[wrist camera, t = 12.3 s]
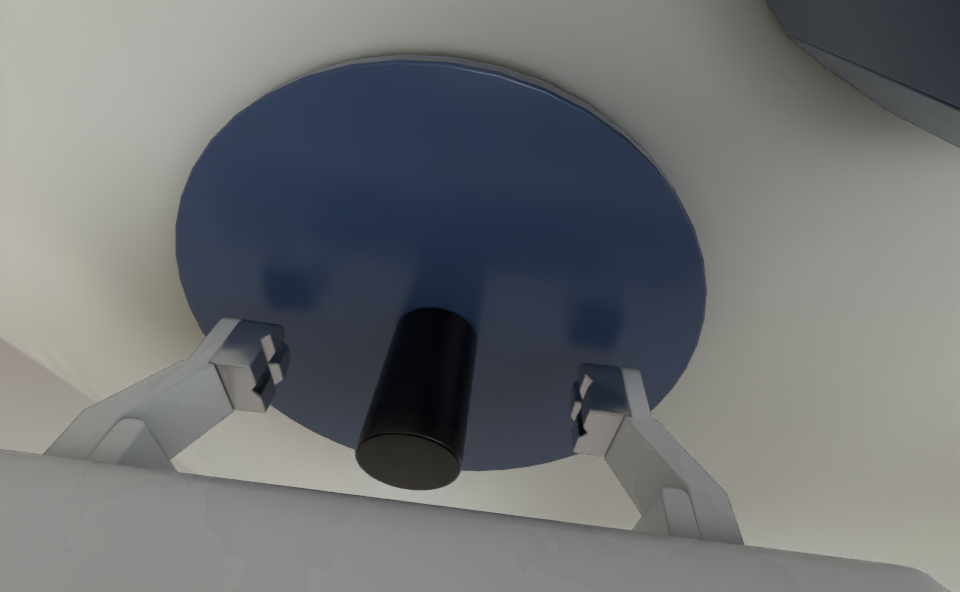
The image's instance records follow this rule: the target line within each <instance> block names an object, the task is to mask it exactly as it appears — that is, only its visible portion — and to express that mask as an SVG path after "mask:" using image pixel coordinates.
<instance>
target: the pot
mask: <svg viewBox="0 0 960 592" xmlns="http://www.w3.org/2000/svg"><path fill="white" fill-rule="evenodd" d="M767 1H768V3H769V5H770V7H771V8H772V9H773V11H774V12H775V14H776V15H777V16H778V18H779V19H780V20H781V22H782V24H783V26H784V29H785V32H786V33H787V34H788V35H789V38H791V39H792V40H793V41H795V42H796V43H797V44H799V45H800V46H801V47H803V48H804V49H805V50H806V51H807V52H808V53H809V54H811V55H812V56H813V57H814V58H815V59H816V60H817V61H818V62H819V63H820V64H821V65H823V66H824V67H825V68H826V69H828V70H830V71H831V72H833V73H834V74H836V75H838V76H839V77H841V78H843V79H844V80H846V81H848V82H849V83H851V84H852V85H853V86H855V87H856V88H857V89H859V90H860V91H861V92H862V93H864V94H865V95H866V96H868V97H869V98H870V99H872V100H873V101H874V102H876V103H877V104H878V105H880V106H881V107H882V108H884V109H886V110H888V111H890V112H891V113H893V114H895V115H897V116H899V117H901V118H903V119H905V120H907V121H909V122H911V123H912V124H914V125H916V126H918V127H920V128H922V129H924V130H926V131H928V132H930V133H932V134H933V135H935V136H937V137H939V138H941V139H943V140H945V141H947V142H949V143H951V144H953V145H954V146H956V147H958V148H960V0H767Z"/></svg>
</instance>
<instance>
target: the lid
mask: <svg viewBox="0 0 960 592" xmlns="http://www.w3.org/2000/svg"><path fill="white" fill-rule="evenodd" d="M176 258H177V264H178V270H179V275H180V281H181V284H182V287H183V290H184V293H185V296H186V298H187V301H188V304H189V307H190V309H191V311H192V313H193V315H194V317H195V319H196V321H197V323H198V325H199V327H200V329H201V330H202V332H203V333H204V335H205V336H206V337H207V335H208V334H209V333H210V331H211V330H212V329H213V328H214V326H215V325H216V324H217V323H218V321H219V320H220V319H222V318H224V317H230V318H237V319H246V320H252V321H259V322H266V323H272V324H279V325H282V326H283V328H284V331H285V334H286V335H285V337H284V339H283V340H282V341H283V342H285V343H286V344H287V345H288V346H289V350H290V364H289V368H288V371H287V373H286V375H285V377H284V379H283V380H282V381H280V382H279V383H277V384H275V385H274V387H275V390H276V394H275V396H274V398H273V399H272V401H271V403H270V405H271V406H273V407H274V408H276V409H277V410H279V411H280V412H282V413H283V414H285V415H286V416H288V417H289V418H290V419H292V420H294V421H295V422H297V423H299V424H301V425H303V426H304V427H306V428H308V429H310V430H311V431H313V432H315V433H317V434H319V435H322V436H324V437H326V438H328V439H330V440H332V441H334V442H336V443H339V444H342V445H344V446H347V447H349V448H352V449H355V456H356V460H357V462H358V464H359V466H360V467H361V468H362V469H363V470H364V471H365V472H366V473H367V474H368V475H370V476H371V477H373V478H375V479H376V480H378V481H380V482H383V483H385V484H388V485H391V486H394V487H398V488H403V489H409V490H432V489H437V488H441V487H444V486H447V485H449V484H450V483H452V482H453V481H455V480H456V479H457V477H458V476H459V474H460V472H461V471H489V470H506V469H514V468H522V467H529V466H534V465H539V464H544V463H548V462H552V461H556V460H559V459H563V458H566V457H570V456H573V455H576V454H578V453H576V452H573V443H572V432H571V430H572V427H573V424H574V422H575V421H574V420H573V419H572V418H571V416H570V395H571V390H572V386H573V383H574V382H575V381H577V380H578V373H577V371H578V369H579V366H580V364H581V363H582V362H583V363H592V364H600V365H609V366H617V367H625V368H634V369H638V370H639V371H640V373H641V377H642V381H643V385H644V389H645V393H646V397H647V401H648V405H649V409H650V411H651V410H653V409H654V408H655V407H656V406H657V405H658V404H659V403H660V402H661V401H662V400H663V398H664V397H665V396H666V395H667V394H668V393H669V392H670V391H671V390H672V388H673V387H674V386H675V384H676V383H677V381H678V380H679V378H680V377H681V375H682V374H683V372H684V371H685V369H686V368H687V366H688V363H689V361H690V359H691V357H692V355H693V353H694V351H695V348H696V346H697V343H698V340H699V336H700V332H701V329H702V325H703V322H704V316H705V304H706V293H707V288H706V278H705V268H704V260H703V256H702V253H701V249H700V246H699V242H698V239H697V236H696V232H695V229H694V227H693V225H692V223H691V221H690V219H689V217H688V215H687V213H686V211H685V209H684V207H683V205H682V203H681V201H680V199H679V197H678V195H677V193H676V191H675V189H674V188H673V186H672V185H671V184H670V182H669V181H668V180H667V178H666V177H665V175H664V174H663V173H662V171H661V170H660V169H659V167H658V166H657V165H656V163H655V162H654V160H653V159H652V158H651V157H650V156H649V155H648V154H647V153H646V152H645V151H644V150H643V149H642V148H641V147H640V146H639V145H638V144H637V143H636V142H635V141H634V140H633V139H632V138H631V137H630V136H629V135H628V134H627V133H626V132H625V131H624V130H623V129H622V128H620V127H619V126H618V125H616V124H615V123H614V122H612V121H611V120H609V119H608V118H607V117H605V116H604V115H602V114H601V113H600V112H598V111H597V110H596V109H594V108H593V107H591V106H590V105H589V104H587V103H586V102H584V101H582V100H580V99H578V98H576V97H574V96H572V95H570V94H568V93H566V92H564V91H562V90H561V89H559V88H557V87H555V86H553V85H551V84H549V83H547V82H545V81H542V80H539V79H537V78H534V77H531V76H528V75H525V74H522V73H519V72H516V71H514V70H511V69H508V68H505V67H502V66H499V65H494V64H489V63H483V62H478V61H473V60H468V59H463V58H458V57H453V56H435V55H414V54H399V55H389V56H379V57H369V58H359V59H354V60H350V61H347V62H343V63H339V64H335V65H331V66H328V67H324V68H320V69H316V70H313V71H311V72H309V73H307V74H304V75H302V76H300V77H298V78H296V79H293V80H291V81H289V82H287V83H284V84H282V85H280V86H278V87H276V88H275V89H273V90H271V91H270V92H268V93H267V94H265V95H264V96H263V97H261V98H260V99H258V100H257V101H255V102H254V103H252V104H251V105H249V106H248V107H246V108H245V109H244V110H242V111H241V112H239V113H238V114H236V115H235V116H234V117H233V118H232V119H231V120H230V121H229V122H228V123H227V124H226V125H225V126H224V127H223V128H222V129H221V130H220V131H219V132H218V133H217V134H216V135H215V136H214V137H213V138H212V139H211V140H210V142H209V143H208V145H207V147H206V148H205V150H204V151H203V153H202V154H201V156H200V157H199V159H198V160H197V162H196V163H195V165H194V166H193V168H192V170H191V173H190V175H189V178H188V180H187V183H186V185H185V188H184V190H183V193H182V195H181V200H180V205H179V210H178V216H177V221H176Z"/></svg>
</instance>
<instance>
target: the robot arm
mask: <svg viewBox="0 0 960 592" xmlns="http://www.w3.org/2000/svg"><path fill="white" fill-rule="evenodd" d="M285 335H286V334H285V331H284V328H283V326H282V325H279V324H272V323H266V322H259V321H252V320H246V319H237V318H230V317H224V318H222V319H220V320H219V321H218V323H217V324H216V325H215V326H214V328H213V329H212V330H211V331H210V333H209V334H208V335H207V337H206V338H205V339H204V340H203V342H202V343H201V344H200V345H199V347H198V348H197V349H196V350H195V352H194V353H193V354H192V355H191V357H190V358H189V359H188V361H187V360H181V361H179V362H177V363H175V364H173V365H171V366H169V367H167V368H165V369H163V370H161V371H159V372H157V373H155V374H153V375H151V376H150V377H148V378H146V379H144V380H142V381H140V382H138V383H136V384H134V385H132V386H130V387H128V388H126V389H124V390H122V391H120V392H118V393H116V394H114V395H112V396H110V397H108V398H106V399H104V400H103V401H101V402H99V403H97V404H95V405H93V406H91V407H89V408H87V409H85V410H83V411H82V413H80V415H79V416H78V417H77V418H76V419H75V420H74V421H73V422H72V423H71V425H69V427H68V428H67V429H66V430H65V431H64V432H63V433H62V434H61V435H60V436H59V437H58V438H57V440H56V441H55V442H54V443H53V444H52V445H51V446H50V447H49V448H48V449H47V450H46V452H45V453H44V454H43V455H41V454H34V453H26V452H18V451H11V450H10V451H9V450H3V449H0V592H950V591H949V590H947V589H946V588H945V587H944V586H942V585H941V584H940V583H938V582H937V581H936V580H934V579H933V578H932V577H931V576H929V575H928V574H926V573H924V572H922V571H920V570H917V569H914V568H911V567H906V566H901V565H895V564H887V563H880V562H872V561H864V560H856V559H849V558H841V557H833V556H825V555H817V554H810V553H802V552H794V551H786V550H778V549H771V548H763V547H755V546H747V545H744V542H743V539H742V536H741V533H740V530H739V527H738V524H737V522H736V519H735V516H734V513H733V510H732V507H731V504H730V501H729V498H728V495H727V493H726V492H725V491H724V490H723V489H722V488H721V487H720V486H719V485H718V483H717V482H716V481H715V480H714V479H713V478H712V477H711V476H710V475H709V474H708V473H707V472H706V471H705V470H704V469H703V468H702V467H701V466H700V464H699V463H698V462H697V461H696V460H695V459H694V458H693V457H692V456H691V455H690V454H689V453H688V452H687V451H686V450H685V449H684V448H683V447H682V445H681V444H680V443H679V442H678V441H677V440H676V439H675V438H674V437H673V436H672V435H671V434H670V433H669V432H668V431H667V430H666V429H665V427H664V426H663V425H662V424H661V423H660V422H659V421H658V420H652V417H651V413H650V409H649V405H648V401H647V397H646V393H645V389H644V385H643V381H642V377H641V373H640V371H639V370H638V369H634V368H625V367H617V366H609V365H600V364H592V363H583V362H582V363H581V364H580V366H579V369H578V371H577V373H578V380H577V381H575V382H574V383H573V386H572V390H571V395H570V416H571V418H572V419H573V420H574V421H575V422H574V424H573V427H572V430H571V432H572V443H573V452H576V453H583V454H589V455H596V456H602V457H605V460H606V462H607V463H608V465H609V466H610V468H611V469H612V471H613V472H614V474H615V475H616V477H617V478H618V480H619V481H620V483H621V484H622V486H623V487H624V489H625V490H626V492H627V493H628V495H629V496H630V498H631V499H632V501H633V503H634V504H635V506H636V507H637V509H638V510H639V512H640V513H641V515H642V517H641V518H640V520H639V521H638V523H637V524H636V525H635V527H634V528H633V530H632V531H631V530H623V529H615V528H608V527H600V526H592V525H584V524H577V523H569V522H561V521H553V520H546V519H538V518H530V517H522V516H515V515H507V514H499V513H491V512H483V511H476V510H468V509H460V508H452V507H445V506H437V505H429V504H421V503H414V502H406V501H398V500H390V499H382V498H375V497H367V496H359V495H351V494H343V493H335V492H328V491H320V490H312V489H304V488H297V487H289V486H281V485H273V484H266V483H258V482H250V481H242V480H235V479H227V478H219V477H211V476H204V475H196V474H188V473H180V472H177V470H176V469H175V467H174V465H173V464H172V463H171V461H170V459H171V458H173V457H174V456H175V455H177V454H178V453H179V452H181V451H182V450H183V449H185V448H186V447H187V446H189V445H190V444H191V443H192V442H194V441H195V440H196V439H198V438H199V437H200V436H202V435H203V434H204V433H206V432H207V431H208V430H210V429H211V428H212V427H213V426H215V425H216V424H217V423H219V422H220V421H221V420H223V419H224V418H225V417H227V416H228V415H229V414H231V413H232V412H233V409H234V410H244V411H254V412H264V413H265V412H266V410H267V408H268V407H269V405H270V403H271V401H272V399H273V398H274V396H275V394H276V390H275V387H274V385H275V384H277V383H279V382H280V381H282V380H283V379H284V377H285V375H286V373H287V371H288V368H289V364H290V350H289V346H288V345H287V344H286V343H285V342H283V341H282V340H283V339H284V337H285Z"/></svg>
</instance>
